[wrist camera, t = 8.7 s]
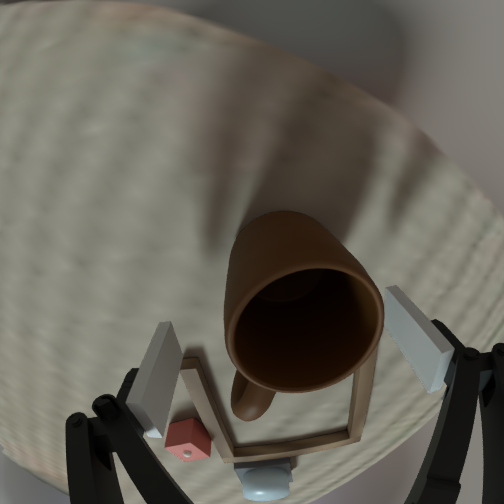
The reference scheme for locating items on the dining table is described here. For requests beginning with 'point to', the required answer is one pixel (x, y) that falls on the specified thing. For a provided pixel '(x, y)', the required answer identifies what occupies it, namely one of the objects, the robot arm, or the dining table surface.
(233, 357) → the mug
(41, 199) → the dining table surface
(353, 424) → the bay
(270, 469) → the dome
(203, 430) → the die
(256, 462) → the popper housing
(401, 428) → the dining table surface
